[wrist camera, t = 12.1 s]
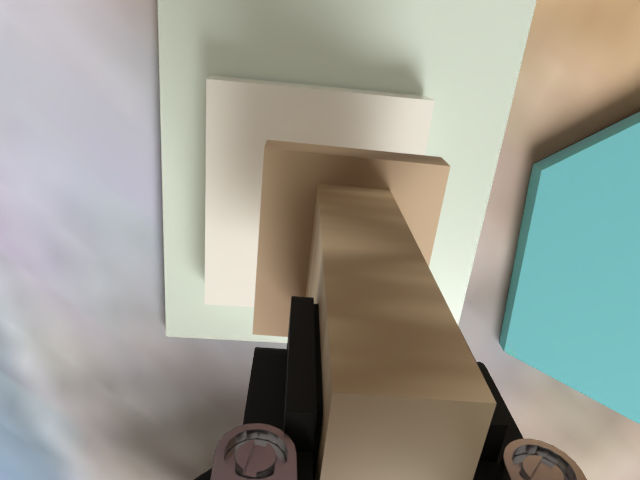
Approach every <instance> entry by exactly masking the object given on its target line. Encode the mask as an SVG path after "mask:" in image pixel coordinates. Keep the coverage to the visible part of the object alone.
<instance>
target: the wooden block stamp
mask: <svg viewBox="0 0 640 480" xmlns="http://www.w3.org/2000/svg"><path fill="white" fill-rule="evenodd" d="M449 171H450V165H449V164H448V163H447V162H446V161H445V160H444V159H443V158H442V157H436V156H426V155H416V154H406V153H396V152H386V151H376V150H366V149H356V148H346V147H336V146H326V145H316V144H306V143H296V142H286V141H276V140H267V141H266V144H265V147H264V158H263V174H262V190H261V206H260V222H259V238H258V254H257V270H256V285H255V301H254V317H253V333H252V334H254V335H268V336H281V337H288V330H289V318H290V307H291V296H299V297H313V298H314V304H318V305H319V326H320V348H321V370H322V392H323V420H322V430H321V437H320V444H319V452H318V459H317V466H316V473H315V480H473V478H474V474H475V471H476V468H477V465H478V461H479V458H480V455H481V452H482V449H483V445H484V442H485V439H486V436H487V433H488V429H489V426H490V423H491V420H492V417H493V413H494V410H495V407H496V404H497V403H496V401H495V399H494V397H493V395H492V393H491V391H490V389H489V387H488V385H487V383H486V381H485V379H484V377H483V375H482V373H481V371H480V369H479V367H478V365H477V363H476V361H475V359H474V357H473V355H472V353H471V351H470V349H469V347H468V345H467V343H466V341H465V339H464V337H463V335H462V333H461V331H460V329H459V327H458V325H457V323H456V321H455V319H454V317H453V315H452V313H451V311H450V309H449V307H448V305H447V303H446V301H445V299H444V297H443V295H442V293H441V291H440V289H439V287H438V285H437V283H436V281H435V279H434V277H433V275H432V273H431V271H430V269H429V264H430V259H431V255H432V250H433V245H434V241H435V236H436V231H437V227H438V222H439V217H440V213H441V208H442V204H443V199H444V194H445V190H446V185H447V180H448V176H449Z"/></svg>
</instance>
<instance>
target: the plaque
mask: <svg viewBox="0 0 640 480" xmlns="http://www.w3.org/2000/svg"><path fill="white" fill-rule="evenodd" d="M499 343H500V345H501V347H502V349H503V350H504V352H506V353H508V354H510V355H511V356H513V357H515V358H517V359H519V360H521V361H523V362H524V363H526V364H528V365H530V366H532V367H534V368H536V369H538V370H539V371H541V372H543V373H545V374H547V375H549V376H551V377H552V378H554V379H556V380H558V381H560V382H562V383H564V384H566V385H567V386H569V387H571V388H573V389H575V390H577V391H579V392H580V393H582V394H584V395H586V396H588V397H590V398H592V399H594V400H595V401H597V402H599V403H601V404H603V405H605V406H607V407H609V408H610V409H612V410H614V411H616V412H618V413H620V414H622V415H623V416H625V417H627V418H629V419H631V420H633V421H635V422H637V423H640V111H639V112H637V113H635V114H633V115H631V116H629V117H627V118H625V119H623V120H621V121H619V122H617V123H615V124H613V125H611V126H609V127H607V128H605V129H603V130H601V131H599V132H597V133H595V134H593V135H591V136H589V137H587V138H585V139H583V140H581V141H579V142H577V143H575V144H573V145H571V146H569V147H567V148H565V149H563V150H561V151H559V152H557V153H555V154H553V155H551V156H549V157H547V158H545V159H543V160H541V161H539V162H537V163H535V164H533V166H532V171H531V176H530V181H529V186H528V192H527V197H526V202H525V207H524V213H523V218H522V223H521V229H520V234H519V239H518V245H517V250H516V255H515V261H514V266H513V271H512V277H511V282H510V287H509V293H508V298H507V303H506V309H505V314H504V319H503V325H502V330H501V335H500V341H499Z"/></svg>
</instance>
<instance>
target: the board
mask: <svg viewBox="0 0 640 480" xmlns="http://www.w3.org/2000/svg"><path fill="white" fill-rule="evenodd" d="M535 5H536V0H158V39H159V78H160V118H161V157H162V197H163V236H164V276H165V315H166V337H184V338H203V339H221V340H240V341H258V342H276V343H287V341H288V337H281V336H268V335H254V334H252V333H253V317H254V307H241V306H224V305H207V304H205V188H206V79H207V78H209V77H210V76H222V77H233V78H243V79H254V80H264V81H275V82H285V83H295V84H306V85H316V86H327V87H337V88H348V89H358V90H369V91H379V92H390V93H400V94H410V95H421V96H427V97H429V98H431V99H433V100H435V103H434V108H433V114H432V119H431V125H430V130H429V136H428V141H427V147H426V152H425V155H426V156H436V157H442V158H443V159H444V160H445V161H446V162H447V163H448V164H449V165H450V171H449V176H448V180H447V185H446V190H445V194H444V199H443V204H442V208H441V213H440V217H439V222H438V227H437V231H436V236H435V241H434V245H433V250H432V255H431V259H430V264H429V269H430V271H431V273H432V275H433V277H434V279H435V281H436V283H437V285H438V287H439V289H440V291H441V293H442V295H443V297H444V299H445V301H446V303H447V305H448V307H449V309H450V311H451V313H452V315H453V317H454V319H455V321H456V323H457V325H458V324H459V320H460V316H461V311H462V307H463V303H464V299H465V295H466V291H467V286H468V282H469V278H470V274H471V270H472V266H473V262H474V257H475V253H476V249H477V245H478V241H479V237H480V233H481V228H482V224H483V220H484V216H485V212H486V208H487V204H488V199H489V195H490V191H491V187H492V183H493V179H494V175H495V170H496V166H497V162H498V158H499V154H500V150H501V146H502V141H503V137H504V133H505V129H506V125H507V121H508V116H509V112H510V108H511V104H512V100H513V96H514V92H515V87H516V83H517V79H518V75H519V71H520V67H521V63H522V58H523V54H524V50H525V46H526V42H527V38H528V34H529V29H530V25H531V21H532V17H533V13H534V9H535Z"/></svg>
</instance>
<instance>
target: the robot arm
mask: <svg viewBox="0 0 640 480" xmlns="http://www.w3.org/2000/svg"><path fill="white" fill-rule="evenodd" d="M468 347H469V346H468ZM469 349H470V348H469ZM470 351H471V350H470ZM471 353H472V352H471ZM472 355H473V354H472ZM473 357H474V356H473ZM474 359H475V358H474ZM475 361H476V360H475ZM476 363H477V365H478V367H479V369H480V371H481V373H482V375H483V377H484V379H485V381H486V383H487V385H488V387H489V389H490V391H491V393H492V395H493V397H494V399H495V401H496V403H497V404H496V407H495V410H494V413H493V417H492V420H491V423H490V426H489V429H488V433H487V436H486V439H485V442H484V445H483V449H482V452H481V455H480V458H479V461H478V465H477V468H476V471H475V474H474V478H473V480H587V479H586V477H585V475H584V474H583V472H582V470H581V469H580V468H579V466H578V465H577V464H576V462H575V461H574V460H572V459H571V458H570V457H569V456H568V455H567V454H566V453H564V452H563V451H561V450H559V449H558V448H556V447H555V446H553V445H550V444H548V443H545V442H543V441H539V440H534V439H523V437H522V435H521V433H520V431H519V429H518V427H517V425H516V423H515V421H514V420H513V418H512V416H511V414H510V412H509V410H508V408H507V406H506V404H505V402H504V401H503V399H502V397H501V395H500V393H499V391H498V389H497V387H496V385H495V383H494V381H493V380H492V378H491V376H490V374H489V372H488V370H487V368H486V367H485V365H484V364H483V363H481V362H476ZM322 420H323V392H322V370H321V348H320V326H319V305H318V304H314V298H313V297H299V296H291V307H290V318H289V330H288V341H287V349H275V348H260V347H255V351H254V358H253V364H252V370H251V377H250V383H249V389H248V396H247V402H246V409H245V415H244V421H243V425H242V426H239V427H236V428H234V429H232V430H231V431H229V432H228V433H226V434H225V435H224V436H223V438H222V439H221V440H220V441H219V442H218V445H217V448H216V450H215V455H214V461H213V467H212V468H211V469H210V470H208V471H207V472H205V473H204V474H202V475H200V476H199V477H197V478H196V479H194V480H315V473H316V466H317V459H318V452H319V444H320V437H321V430H322Z"/></svg>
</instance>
